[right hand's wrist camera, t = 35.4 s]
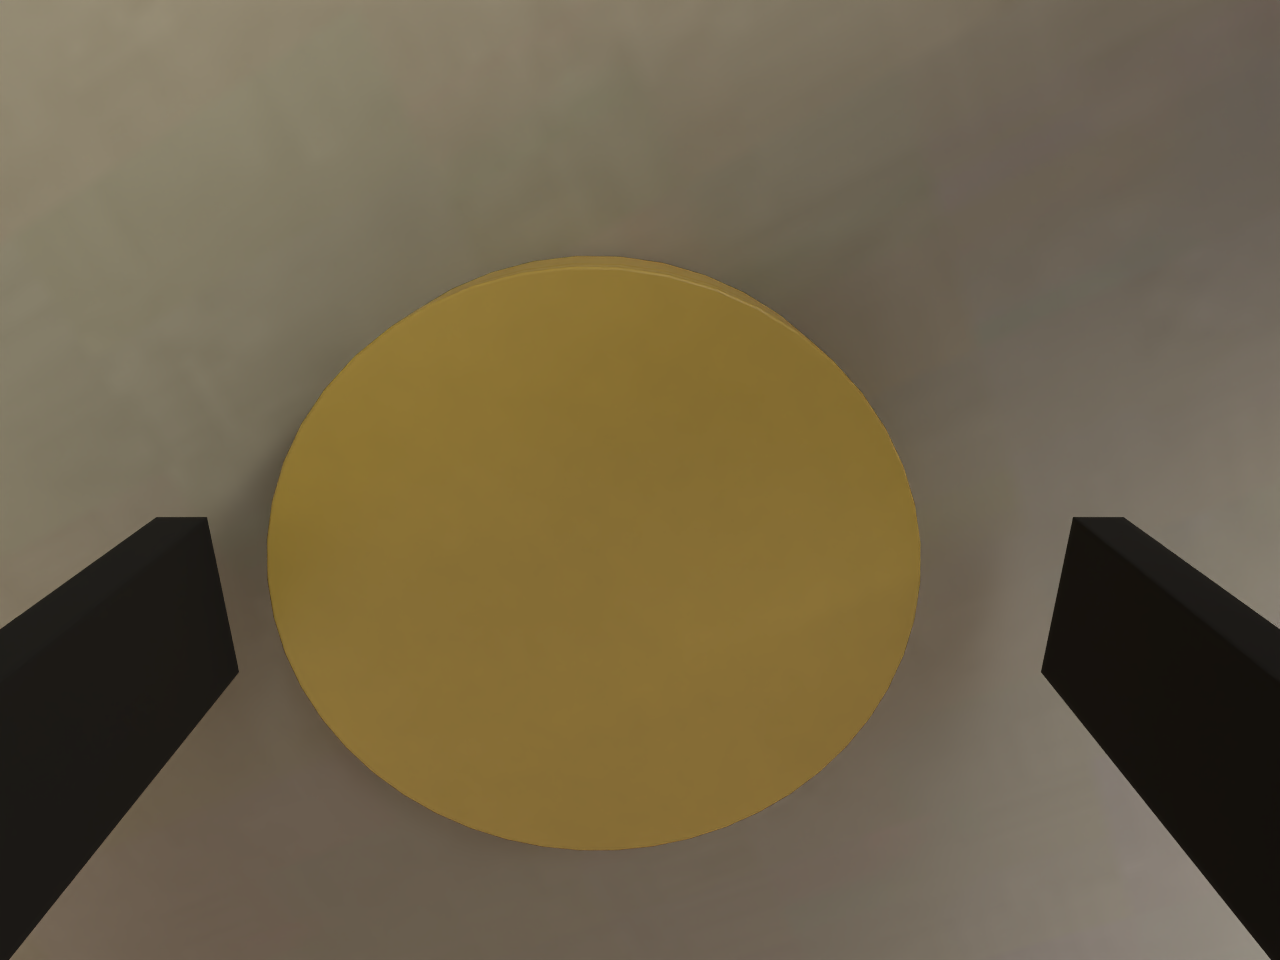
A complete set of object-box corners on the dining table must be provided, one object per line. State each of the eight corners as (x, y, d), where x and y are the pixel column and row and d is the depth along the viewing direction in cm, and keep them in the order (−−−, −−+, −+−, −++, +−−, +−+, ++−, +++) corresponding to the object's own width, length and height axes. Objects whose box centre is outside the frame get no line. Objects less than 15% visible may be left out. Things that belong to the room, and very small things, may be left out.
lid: (713, 855, 17) (722, 923, 15) (228, 667, 15) (183, 722, 14) (1007, 431, 14) (1055, 464, 12) (438, 130, 12) (410, 123, 10)
